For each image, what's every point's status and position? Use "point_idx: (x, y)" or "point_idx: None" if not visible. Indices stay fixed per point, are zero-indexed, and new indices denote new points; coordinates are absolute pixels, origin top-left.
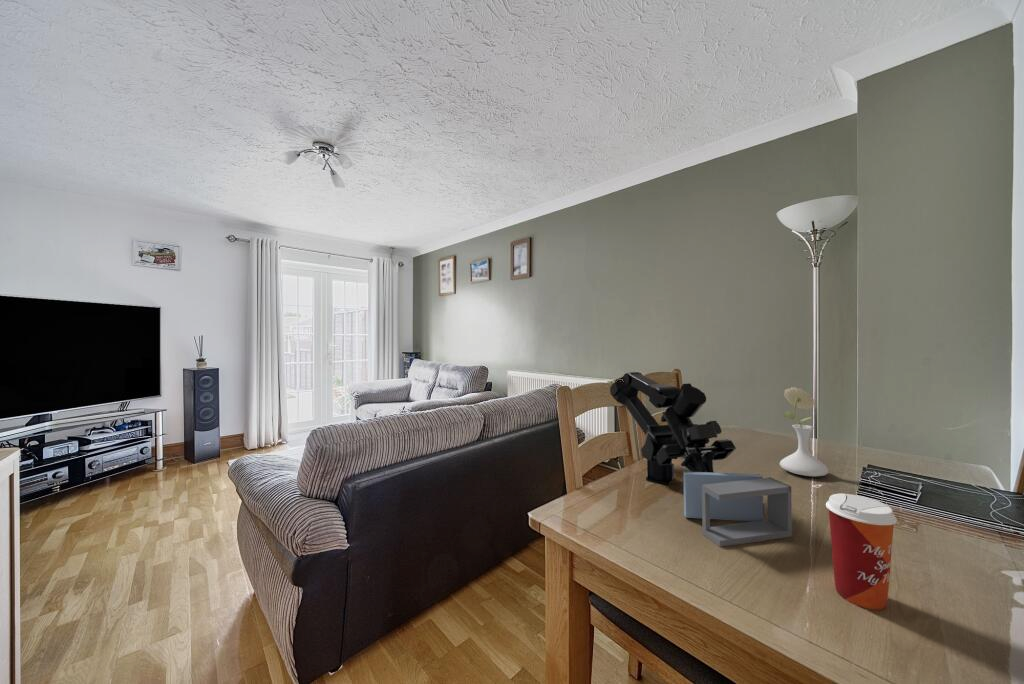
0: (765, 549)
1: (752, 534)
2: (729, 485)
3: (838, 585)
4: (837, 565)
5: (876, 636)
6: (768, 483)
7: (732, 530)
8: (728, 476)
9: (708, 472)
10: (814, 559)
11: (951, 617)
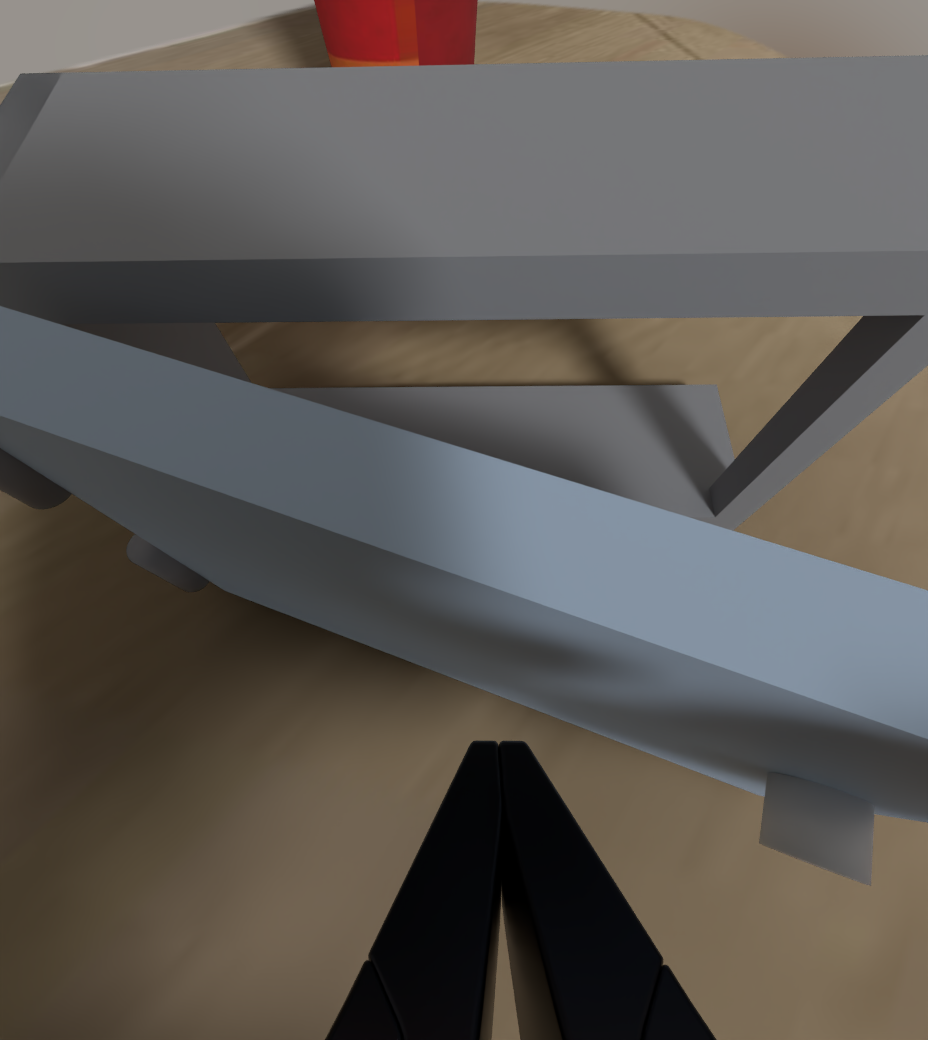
0: (484, 352)
1: (484, 398)
2: (673, 179)
3: None
4: (474, 14)
5: (529, 58)
6: (155, 146)
7: (568, 454)
8: (421, 444)
9: (710, 653)
10: None
11: (271, 68)
